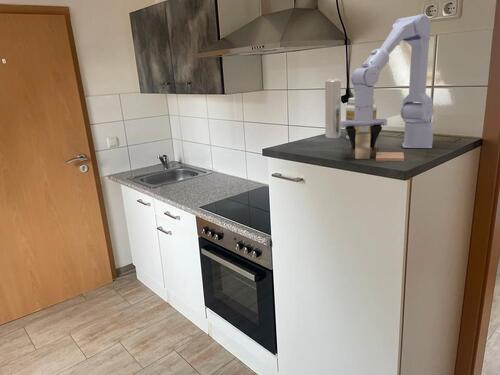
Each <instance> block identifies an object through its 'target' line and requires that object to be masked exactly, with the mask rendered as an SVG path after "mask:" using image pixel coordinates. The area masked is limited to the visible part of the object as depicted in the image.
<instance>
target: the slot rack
mask: <svg viewBox="0 0 500 375" xmlns="http://www.w3.org/2000/svg"><path fill="white" fill-rule="evenodd" d="M378 142H379V141H378V140H376V143H375V146H374V148H371V151H370V156H371V155H373V156H376V153H377V152H378ZM355 146H356V140H355ZM350 155H354V156H355V149H352V147H351V146H350Z"/></svg>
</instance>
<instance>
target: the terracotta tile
mask: <svg viewBox="0 0 500 375" xmlns="http://www.w3.org/2000/svg"><path fill="white" fill-rule="evenodd" d="M377 161H378V162H380V161H381V162H404V161H405V155H404V152H403V151H402V152H400V151H398V152H397V151H395V152H394V151H393V152H392V151H390V152H389V151H388V152H387V151H377V153H376V155H375V162H377Z"/></svg>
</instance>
